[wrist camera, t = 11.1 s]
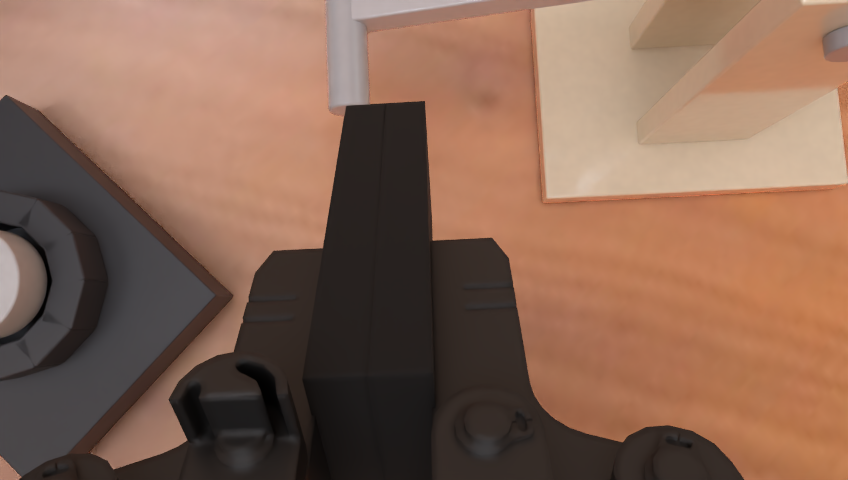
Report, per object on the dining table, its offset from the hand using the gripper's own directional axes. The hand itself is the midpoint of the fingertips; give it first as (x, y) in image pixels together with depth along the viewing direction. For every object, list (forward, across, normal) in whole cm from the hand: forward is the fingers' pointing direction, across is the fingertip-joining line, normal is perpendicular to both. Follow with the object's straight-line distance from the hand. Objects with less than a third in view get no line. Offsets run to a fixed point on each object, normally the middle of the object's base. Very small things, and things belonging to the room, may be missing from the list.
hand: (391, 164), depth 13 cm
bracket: (+15, +11, -6) cm, 20 cm away
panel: (+10, -16, -11) cm, 22 cm away
